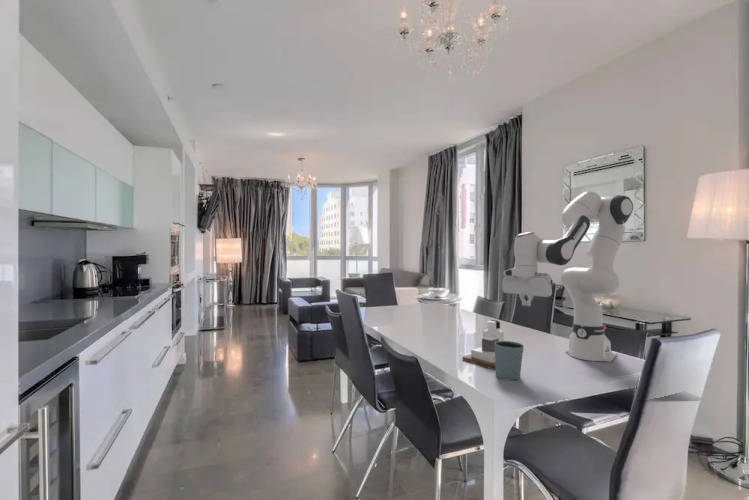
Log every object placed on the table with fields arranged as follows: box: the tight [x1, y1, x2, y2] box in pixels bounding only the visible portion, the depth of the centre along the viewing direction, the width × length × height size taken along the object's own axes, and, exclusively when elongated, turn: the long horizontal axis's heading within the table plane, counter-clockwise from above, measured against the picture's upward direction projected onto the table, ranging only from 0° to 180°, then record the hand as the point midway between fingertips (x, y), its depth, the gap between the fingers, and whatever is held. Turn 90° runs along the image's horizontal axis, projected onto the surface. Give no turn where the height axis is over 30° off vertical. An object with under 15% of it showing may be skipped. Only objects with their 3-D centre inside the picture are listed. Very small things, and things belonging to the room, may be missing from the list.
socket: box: [470, 346, 496, 363], centre depth 166 cm, size 11×11×4 cm
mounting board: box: [462, 353, 496, 370], centre depth 166 cm, size 16×16×2 cm
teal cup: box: [495, 340, 525, 381], centre depth 146 cm, size 10×10×12 cm
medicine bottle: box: [482, 319, 505, 341], centre depth 192 cm, size 7×7×12 cm
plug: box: [481, 337, 499, 352], centre depth 166 cm, size 7×4×6 cm, turn 129°
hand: (526, 305), depth 161 cm, fingers closed
